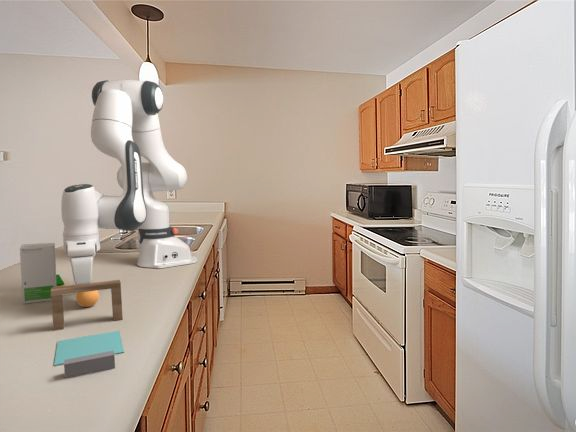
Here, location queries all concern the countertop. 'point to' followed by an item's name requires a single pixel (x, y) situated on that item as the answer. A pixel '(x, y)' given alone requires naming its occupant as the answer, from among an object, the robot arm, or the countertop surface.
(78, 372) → the stopper
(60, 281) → the dish sponge
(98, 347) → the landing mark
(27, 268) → the skincare box
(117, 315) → the bridge
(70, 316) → the countertop surface
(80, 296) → the ball
